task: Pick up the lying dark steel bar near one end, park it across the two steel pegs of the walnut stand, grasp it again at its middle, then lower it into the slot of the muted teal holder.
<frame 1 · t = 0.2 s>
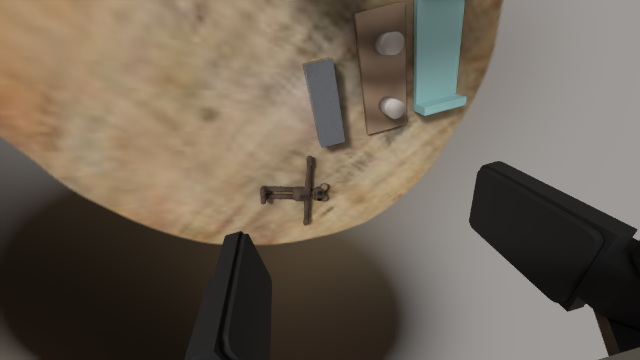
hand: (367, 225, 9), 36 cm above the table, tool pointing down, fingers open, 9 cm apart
peg stand: (382, 75, 41), on the table
slot holder: (435, 49, 40), on the table
steel bar: (322, 102, 42), on the table
bear figurine: (294, 189, 51), on the table
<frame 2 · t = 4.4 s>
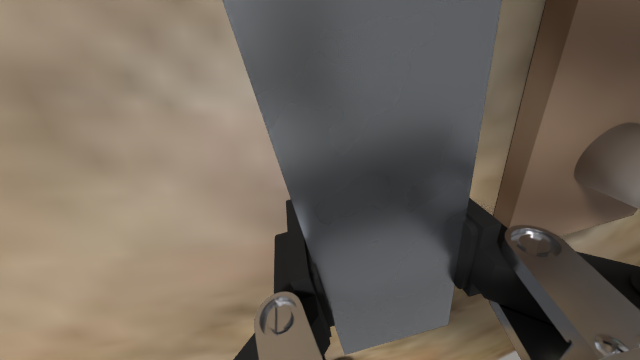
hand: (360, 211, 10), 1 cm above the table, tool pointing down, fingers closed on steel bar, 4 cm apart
peg stand: (633, 26, 9), on the table
steel bar: (347, 152, 9), on the table, touching gripper
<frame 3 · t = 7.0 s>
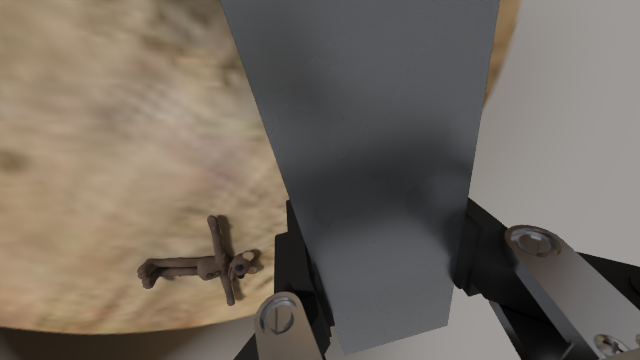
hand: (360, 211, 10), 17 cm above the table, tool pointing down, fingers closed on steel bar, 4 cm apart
steel bar: (346, 153, 9), point 17 cm above the table, touching gripper
bear figurine: (206, 258, 33), on the table
when the fingers open (7 cm above the table, at t = 9.6 s): steel bar drops 1 cm, resting on peg stand.
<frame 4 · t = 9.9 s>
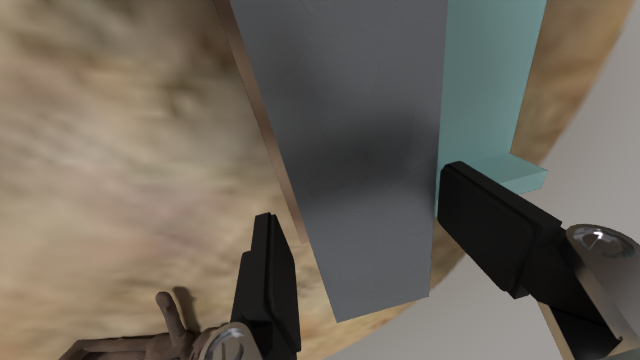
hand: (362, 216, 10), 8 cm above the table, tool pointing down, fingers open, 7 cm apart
peg stand: (320, 114, 15), on the table
slot holder: (465, 44, 15), on the table
steel bar: (338, 142, 11), point 5 cm above the table, touching peg stand
bear figurine: (162, 333, 25), on the table
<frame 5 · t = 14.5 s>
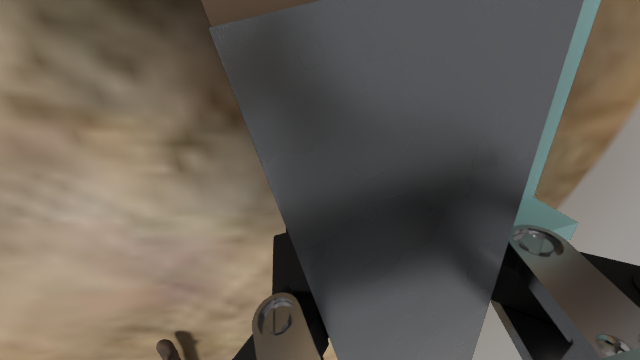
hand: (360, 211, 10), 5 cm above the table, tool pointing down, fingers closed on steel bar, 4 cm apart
peg stand: (336, 163, 14), on the table
slot holder: (493, 91, 13), on the table
steel bar: (363, 220, 9), point 5 cm above the table, touching gripper, peg stand
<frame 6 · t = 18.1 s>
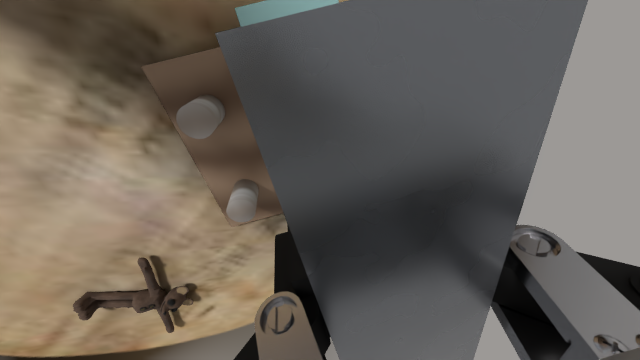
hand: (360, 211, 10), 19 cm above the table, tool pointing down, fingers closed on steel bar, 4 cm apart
peg stand: (231, 150, 27), on the table
slot holder: (309, 112, 26), on the table
steel bar: (365, 221, 10), point 19 cm above the table, touching gripper
bear figurine: (144, 290, 36), on the table
when the fingers open (2 cm above the table, at t = 21.4 s): steel bar drops 1 cm, resting on slot holder.
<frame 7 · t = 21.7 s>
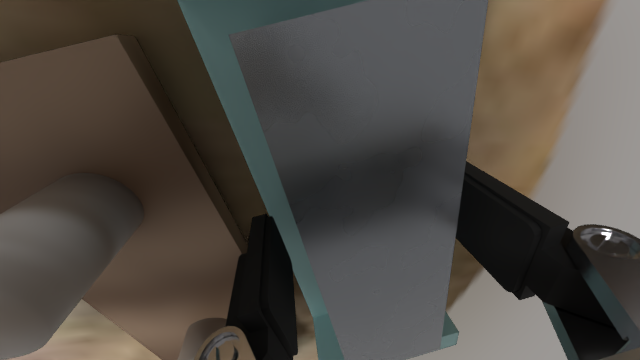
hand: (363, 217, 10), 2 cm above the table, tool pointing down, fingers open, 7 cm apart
peg stand: (176, 267, 12), on the table
slot holder: (348, 189, 12), on the table
steel bar: (352, 200, 11), point 1 cm above the table, touching slot holder
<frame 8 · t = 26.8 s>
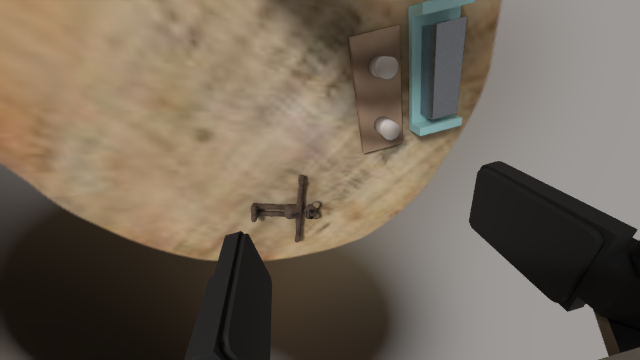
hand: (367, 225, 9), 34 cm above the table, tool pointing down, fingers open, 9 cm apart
peg stand: (377, 96, 41), on the table
slot holder: (430, 70, 40), on the table
steel bar: (433, 70, 40), point 1 cm above the table, touching slot holder
bear figurine: (286, 206, 51), on the table
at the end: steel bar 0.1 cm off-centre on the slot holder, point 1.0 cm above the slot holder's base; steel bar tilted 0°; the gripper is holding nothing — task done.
